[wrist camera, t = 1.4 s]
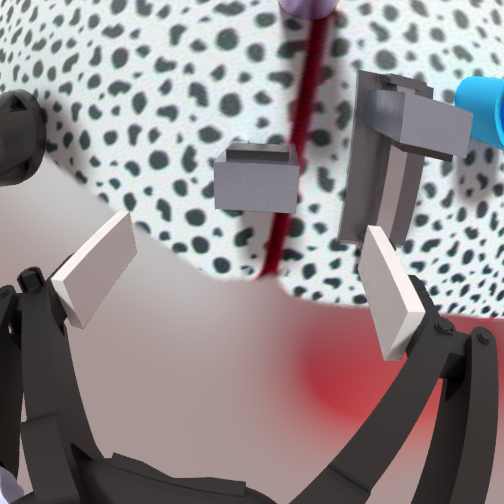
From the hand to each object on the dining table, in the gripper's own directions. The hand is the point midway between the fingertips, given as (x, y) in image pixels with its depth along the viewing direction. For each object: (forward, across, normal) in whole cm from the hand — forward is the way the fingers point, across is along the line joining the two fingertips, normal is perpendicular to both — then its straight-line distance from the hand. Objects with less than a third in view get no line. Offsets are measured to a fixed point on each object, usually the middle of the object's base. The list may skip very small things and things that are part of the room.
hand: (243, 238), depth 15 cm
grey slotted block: (+18, +14, +1) cm, 23 cm away
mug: (+19, +28, +10) cm, 35 cm away
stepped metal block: (+18, 0, 0) cm, 18 cm away
